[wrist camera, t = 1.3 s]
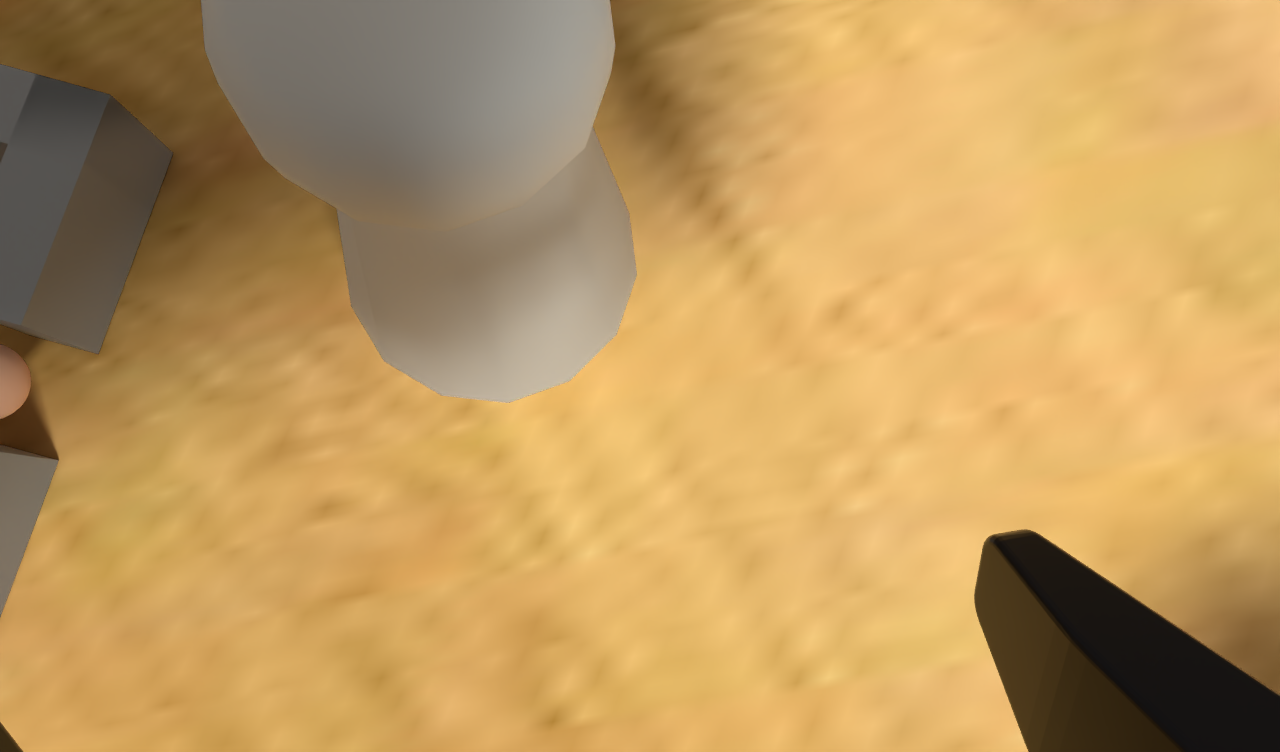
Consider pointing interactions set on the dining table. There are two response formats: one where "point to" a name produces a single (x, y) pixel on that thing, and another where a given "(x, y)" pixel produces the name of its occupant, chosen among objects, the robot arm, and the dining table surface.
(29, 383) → the plunger
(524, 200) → the salt shaker
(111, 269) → the grey square frame
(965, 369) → the dining table surface
